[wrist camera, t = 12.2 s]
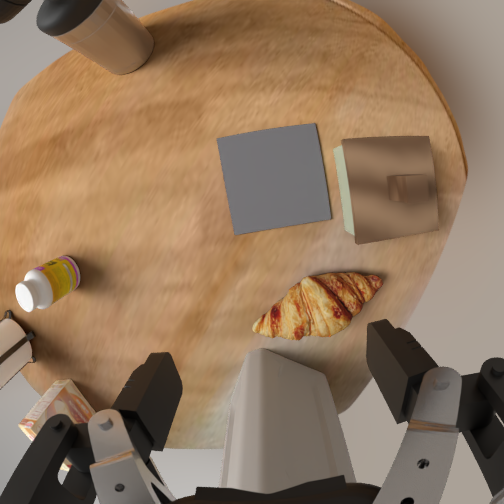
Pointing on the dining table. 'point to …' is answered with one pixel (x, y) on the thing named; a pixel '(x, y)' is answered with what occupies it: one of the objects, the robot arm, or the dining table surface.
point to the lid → (391, 187)
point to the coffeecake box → (57, 409)
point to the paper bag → (281, 427)
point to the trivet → (274, 178)
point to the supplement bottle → (48, 283)
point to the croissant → (318, 306)
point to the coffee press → (13, 349)
